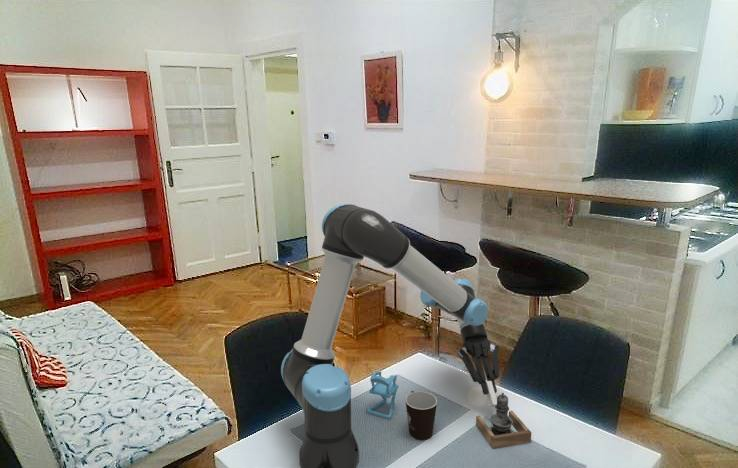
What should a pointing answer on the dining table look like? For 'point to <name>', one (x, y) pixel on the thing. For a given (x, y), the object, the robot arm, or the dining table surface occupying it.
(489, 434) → the pocket
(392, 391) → the chair
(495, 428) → the chess piece
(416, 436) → the coffee mug
